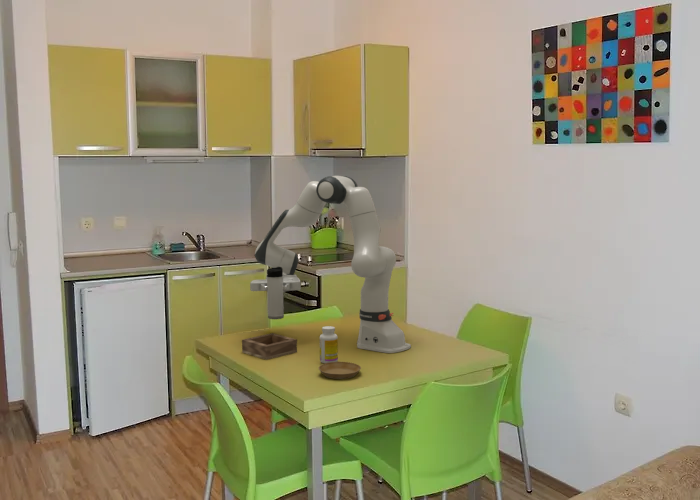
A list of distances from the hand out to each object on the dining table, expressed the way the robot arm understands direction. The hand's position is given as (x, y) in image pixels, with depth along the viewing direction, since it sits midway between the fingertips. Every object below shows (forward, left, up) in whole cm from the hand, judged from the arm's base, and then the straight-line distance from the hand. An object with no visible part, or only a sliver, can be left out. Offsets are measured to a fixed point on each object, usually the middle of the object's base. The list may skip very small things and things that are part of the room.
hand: (275, 288), depth 283 cm
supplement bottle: (-30, 0, -24) cm, 38 cm away
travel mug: (+1, -1, -12) cm, 12 cm away
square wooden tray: (-4, +7, -24) cm, 25 cm away
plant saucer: (-44, +8, -24) cm, 51 cm away
